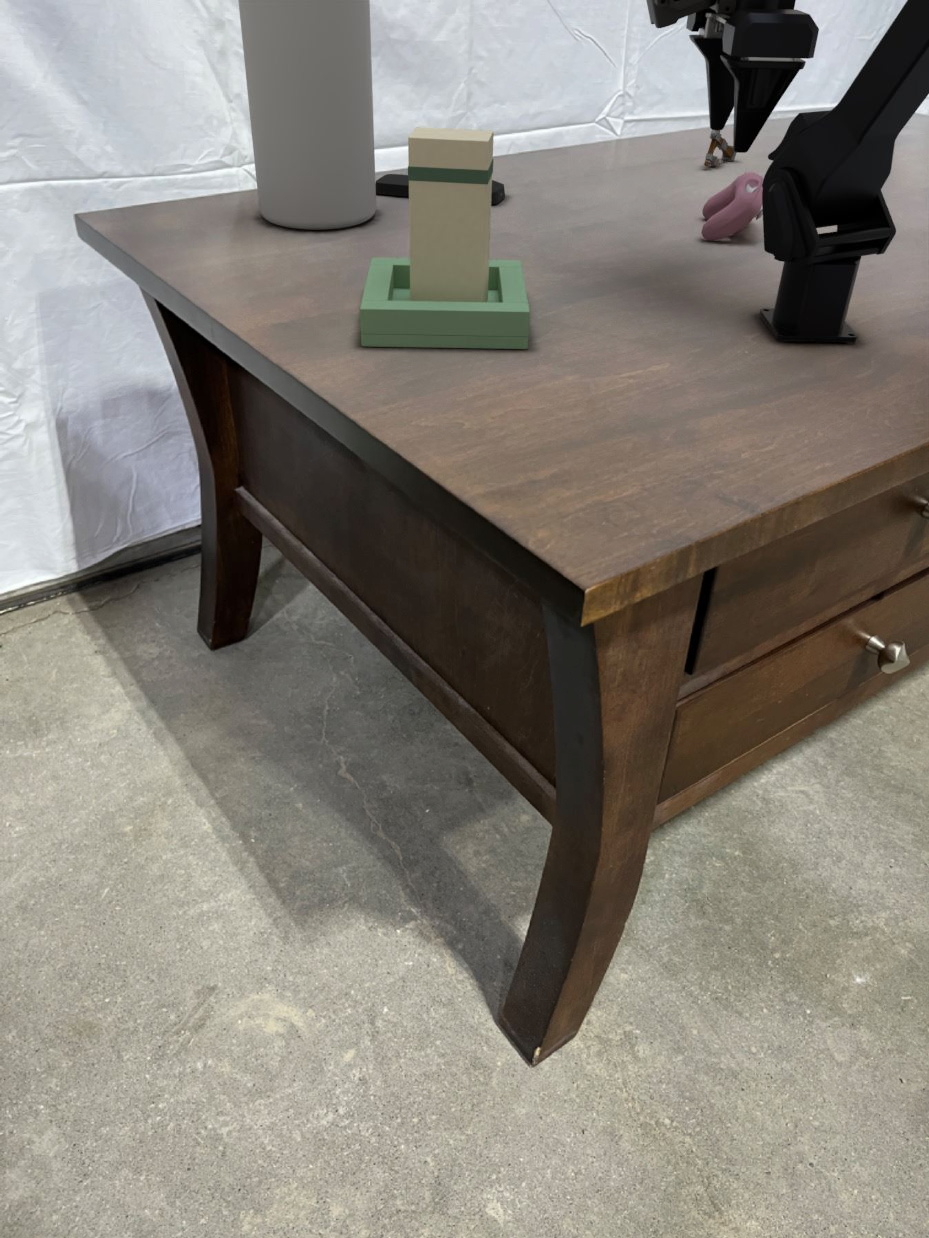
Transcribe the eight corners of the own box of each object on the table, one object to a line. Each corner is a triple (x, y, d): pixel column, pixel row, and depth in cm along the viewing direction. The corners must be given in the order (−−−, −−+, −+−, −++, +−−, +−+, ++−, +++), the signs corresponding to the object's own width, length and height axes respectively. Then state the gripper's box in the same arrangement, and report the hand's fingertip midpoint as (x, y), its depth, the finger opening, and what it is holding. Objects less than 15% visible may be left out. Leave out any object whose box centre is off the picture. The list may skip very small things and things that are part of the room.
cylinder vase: (358, 197, 113) (346, -67, 98) (391, 226, 104) (384, -61, 89) (249, 205, 110) (220, -68, 95) (274, 236, 100) (246, -62, 85)
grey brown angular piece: (697, 162, 128) (708, 125, 126) (715, 179, 134) (726, 143, 133) (710, 164, 127) (721, 126, 126) (728, 181, 134) (738, 145, 132)
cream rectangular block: (488, 299, 83) (494, 130, 76) (483, 315, 80) (489, 141, 72) (417, 294, 84) (416, 126, 76) (409, 311, 81) (407, 137, 73)
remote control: (372, 199, 115) (496, 205, 112) (371, 182, 114) (496, 188, 111) (386, 189, 119) (507, 195, 115) (385, 173, 118) (507, 178, 114)
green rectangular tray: (527, 349, 77) (530, 311, 75) (361, 346, 77) (359, 308, 75) (519, 294, 88) (521, 260, 86) (372, 291, 87) (371, 257, 86)
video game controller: (734, 260, 102) (777, 198, 98) (697, 236, 102) (739, 173, 97) (732, 234, 110) (773, 176, 106) (698, 212, 109) (737, 152, 105)
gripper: (640, -89, 82) (619, 118, 92) (681, -83, 67) (651, 163, 77) (773, -85, 83) (738, 120, 92) (843, -79, 68) (793, 166, 77)
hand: (727, 140), depth 84 cm, fingers open, 9 cm apart
